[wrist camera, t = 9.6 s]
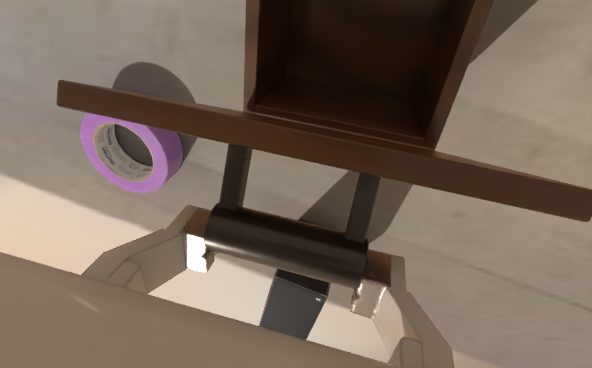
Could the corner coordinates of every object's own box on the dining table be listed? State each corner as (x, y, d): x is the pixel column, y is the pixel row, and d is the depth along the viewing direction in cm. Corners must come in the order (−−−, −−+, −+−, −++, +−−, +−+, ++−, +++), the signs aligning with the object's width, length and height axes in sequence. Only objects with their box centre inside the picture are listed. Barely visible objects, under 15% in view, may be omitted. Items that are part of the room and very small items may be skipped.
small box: (296, 216, 44) (272, 275, 35) (342, 232, 44) (330, 297, 35) (279, 267, 50) (255, 328, 42) (320, 282, 50) (305, 347, 41)
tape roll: (181, 190, 46) (165, 206, 43) (105, 161, 47) (84, 175, 44) (186, 115, 40) (169, 127, 37) (98, 83, 40) (73, 92, 37)
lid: (56, 78, 10) (46, 235, 11) (603, 191, 8) (534, 371, 9) (241, 111, 26) (231, 172, 27) (435, 151, 24) (417, 215, 25)
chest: (294, -124, 26) (249, -167, 18) (495, -103, 24) (549, -141, 16) (277, 80, 35) (242, 114, 27) (423, 108, 33) (433, 153, 25)
